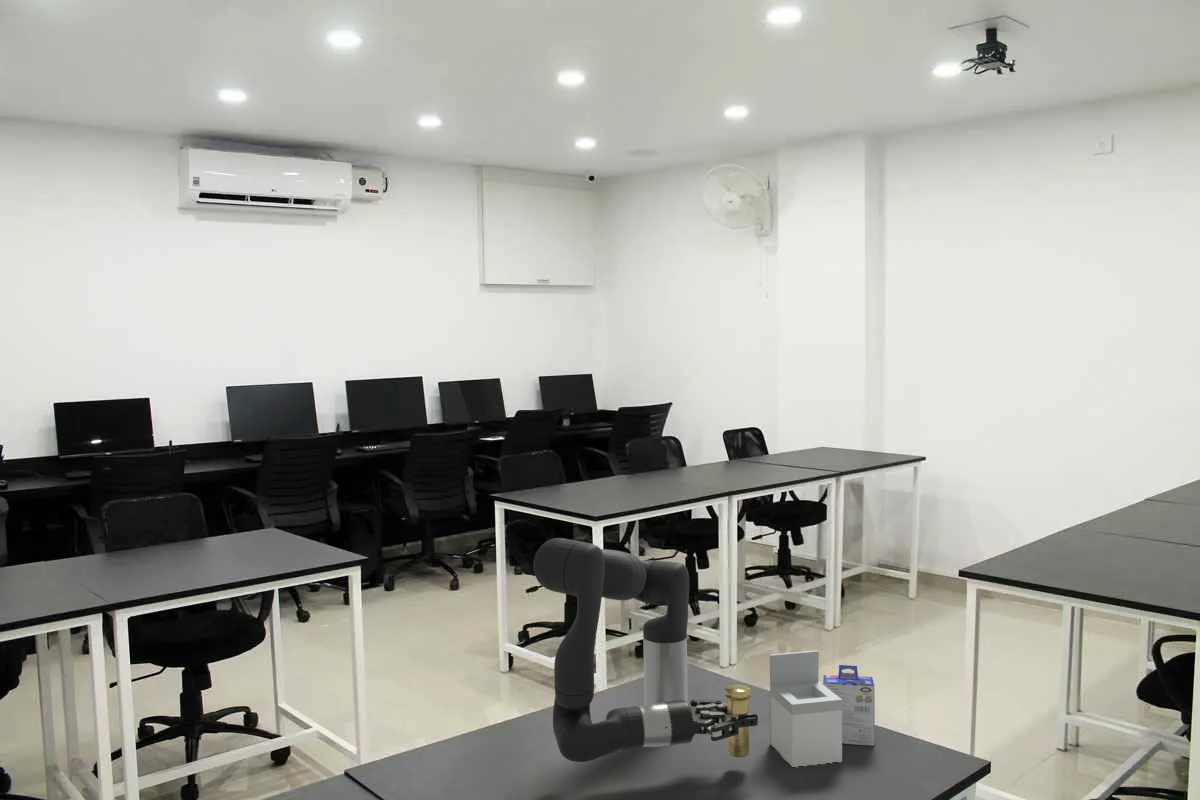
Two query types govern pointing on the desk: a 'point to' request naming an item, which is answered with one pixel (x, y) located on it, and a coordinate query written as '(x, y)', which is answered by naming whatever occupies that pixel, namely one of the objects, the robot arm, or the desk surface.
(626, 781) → the desk surface
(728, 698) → the hinge pin
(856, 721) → the ink cartridge box
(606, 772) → the desk surface
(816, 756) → the hinge block
